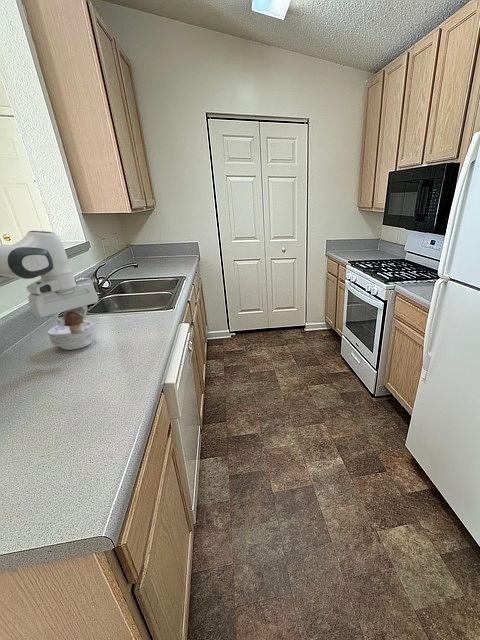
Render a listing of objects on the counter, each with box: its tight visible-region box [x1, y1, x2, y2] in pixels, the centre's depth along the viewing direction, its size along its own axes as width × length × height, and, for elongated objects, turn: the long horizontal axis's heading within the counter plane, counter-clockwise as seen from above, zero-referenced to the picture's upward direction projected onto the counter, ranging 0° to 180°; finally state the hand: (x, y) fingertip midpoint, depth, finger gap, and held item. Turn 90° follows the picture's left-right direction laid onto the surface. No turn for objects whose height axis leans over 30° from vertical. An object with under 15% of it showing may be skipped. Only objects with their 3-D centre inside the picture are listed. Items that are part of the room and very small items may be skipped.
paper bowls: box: [47, 320, 97, 351], centre depth 130 cm, size 15×15×8 cm
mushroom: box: [61, 310, 85, 334], centre depth 116 cm, size 6×6×8 cm
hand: (73, 321), depth 116 cm, fingers closed on mushroom, 6 cm apart
